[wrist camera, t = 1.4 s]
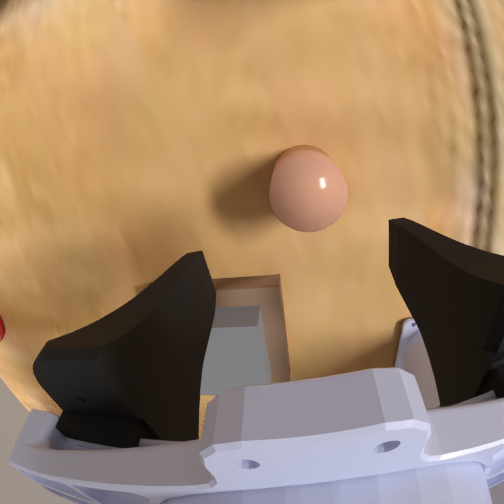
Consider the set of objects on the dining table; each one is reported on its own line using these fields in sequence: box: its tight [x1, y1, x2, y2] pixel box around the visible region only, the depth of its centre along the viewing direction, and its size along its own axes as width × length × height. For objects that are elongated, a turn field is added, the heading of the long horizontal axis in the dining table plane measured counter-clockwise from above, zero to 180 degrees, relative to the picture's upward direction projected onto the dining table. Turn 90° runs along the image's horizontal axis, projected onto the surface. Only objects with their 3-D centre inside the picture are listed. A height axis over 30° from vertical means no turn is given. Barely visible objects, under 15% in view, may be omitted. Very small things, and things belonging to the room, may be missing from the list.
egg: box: [269, 145, 348, 232], centre depth 19 cm, size 4×4×4 cm
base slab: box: [151, 274, 290, 383], centre depth 28 cm, size 11×11×2 cm
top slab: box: [200, 305, 271, 395], centre depth 25 cm, size 8×8×2 cm
